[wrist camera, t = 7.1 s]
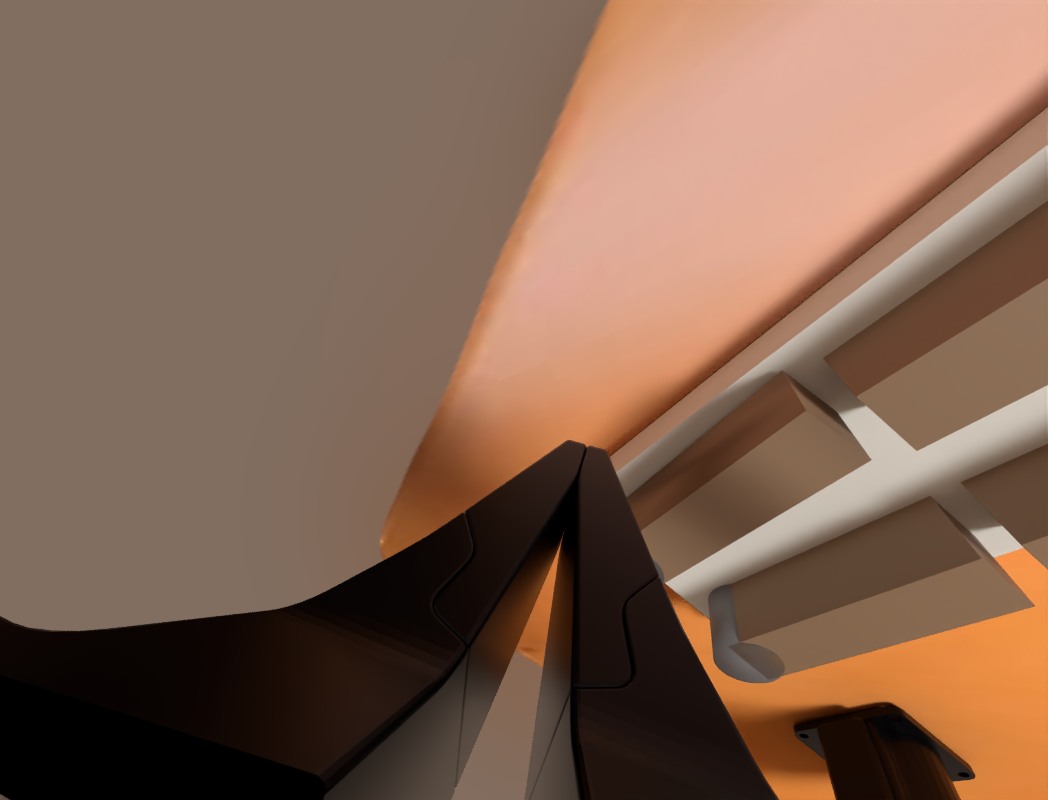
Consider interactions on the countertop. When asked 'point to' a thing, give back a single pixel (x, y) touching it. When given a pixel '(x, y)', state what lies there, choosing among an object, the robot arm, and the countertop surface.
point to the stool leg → (743, 474)
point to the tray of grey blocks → (894, 435)
